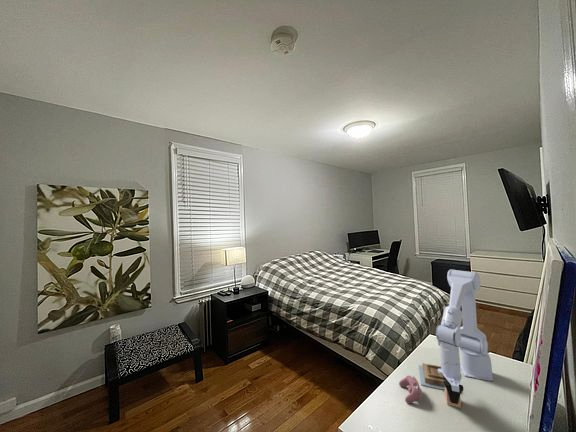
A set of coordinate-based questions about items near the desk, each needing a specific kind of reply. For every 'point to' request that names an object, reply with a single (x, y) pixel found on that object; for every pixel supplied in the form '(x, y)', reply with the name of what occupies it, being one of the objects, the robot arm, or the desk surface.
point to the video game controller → (411, 388)
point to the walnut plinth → (432, 375)
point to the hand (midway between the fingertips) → (452, 397)
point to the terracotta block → (449, 400)
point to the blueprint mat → (427, 383)
